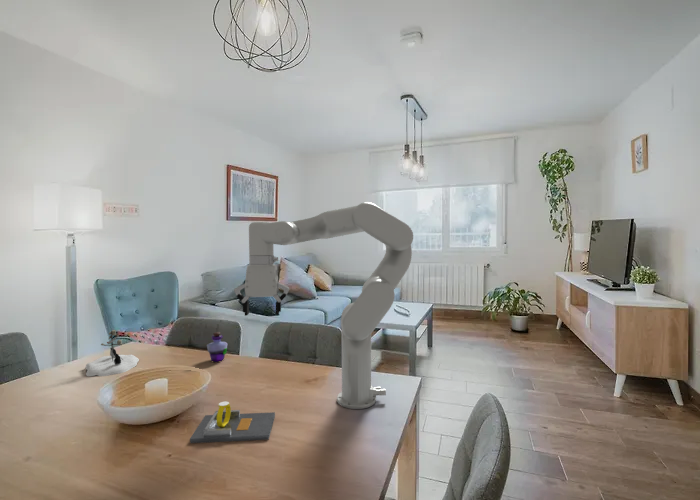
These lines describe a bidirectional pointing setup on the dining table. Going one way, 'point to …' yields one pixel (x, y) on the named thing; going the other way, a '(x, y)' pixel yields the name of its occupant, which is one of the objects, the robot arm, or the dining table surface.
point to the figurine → (111, 361)
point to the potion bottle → (217, 348)
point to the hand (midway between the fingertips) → (262, 314)
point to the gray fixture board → (234, 427)
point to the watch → (220, 413)
